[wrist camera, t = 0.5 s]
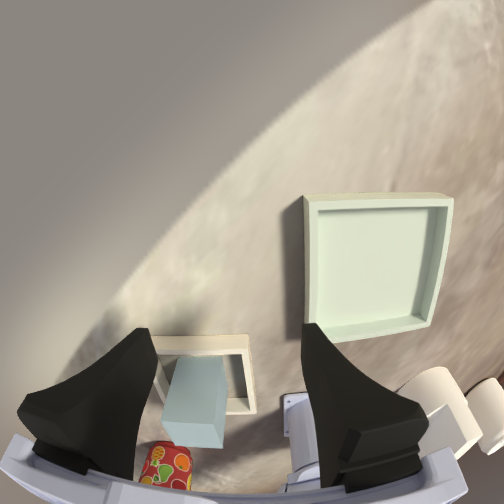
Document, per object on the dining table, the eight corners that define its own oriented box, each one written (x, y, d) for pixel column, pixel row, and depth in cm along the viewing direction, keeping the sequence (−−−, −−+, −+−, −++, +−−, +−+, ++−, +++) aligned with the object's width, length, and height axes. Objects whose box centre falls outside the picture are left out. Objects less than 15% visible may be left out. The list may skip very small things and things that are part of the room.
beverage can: (452, 413, 33) (476, 463, 22) (468, 385, 30) (499, 439, 19) (484, 397, 33) (509, 441, 22) (500, 368, 30) (532, 415, 19)
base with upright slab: (410, 370, 28) (449, 447, 16) (459, 363, 28) (499, 426, 17) (382, 414, 31) (405, 484, 20) (430, 406, 31) (457, 465, 20)
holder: (256, 400, 29) (256, 413, 27) (171, 399, 29) (167, 412, 27) (248, 333, 25) (248, 348, 23) (145, 335, 25) (138, 349, 23)
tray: (419, 312, 24) (429, 326, 22) (304, 329, 25) (307, 346, 23) (438, 192, 20) (454, 198, 17) (303, 194, 20) (309, 201, 18)
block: (228, 385, 28) (222, 448, 20) (188, 385, 28) (175, 445, 21) (222, 356, 26) (213, 424, 19) (178, 357, 26) (160, 420, 19)
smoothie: (153, 455, 36) (132, 552, 18) (140, 432, 33) (110, 544, 14) (201, 462, 36) (190, 564, 18) (195, 440, 33) (177, 562, 14)
